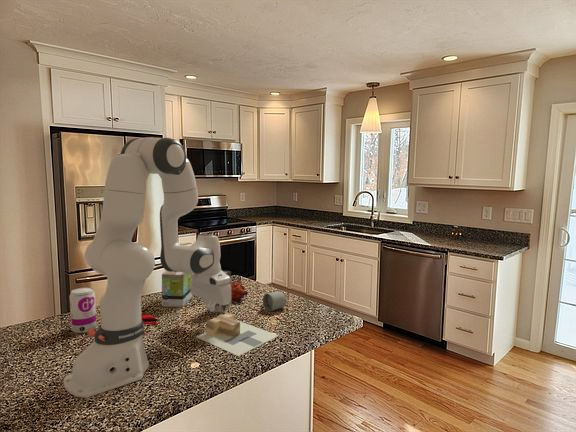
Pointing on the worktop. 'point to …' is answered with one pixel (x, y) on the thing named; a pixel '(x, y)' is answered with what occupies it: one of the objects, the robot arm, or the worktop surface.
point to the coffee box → (224, 307)
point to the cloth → (148, 317)
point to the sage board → (239, 339)
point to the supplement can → (82, 310)
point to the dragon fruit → (237, 291)
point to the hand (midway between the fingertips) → (210, 310)
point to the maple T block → (223, 325)
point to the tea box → (176, 288)
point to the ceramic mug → (274, 301)
